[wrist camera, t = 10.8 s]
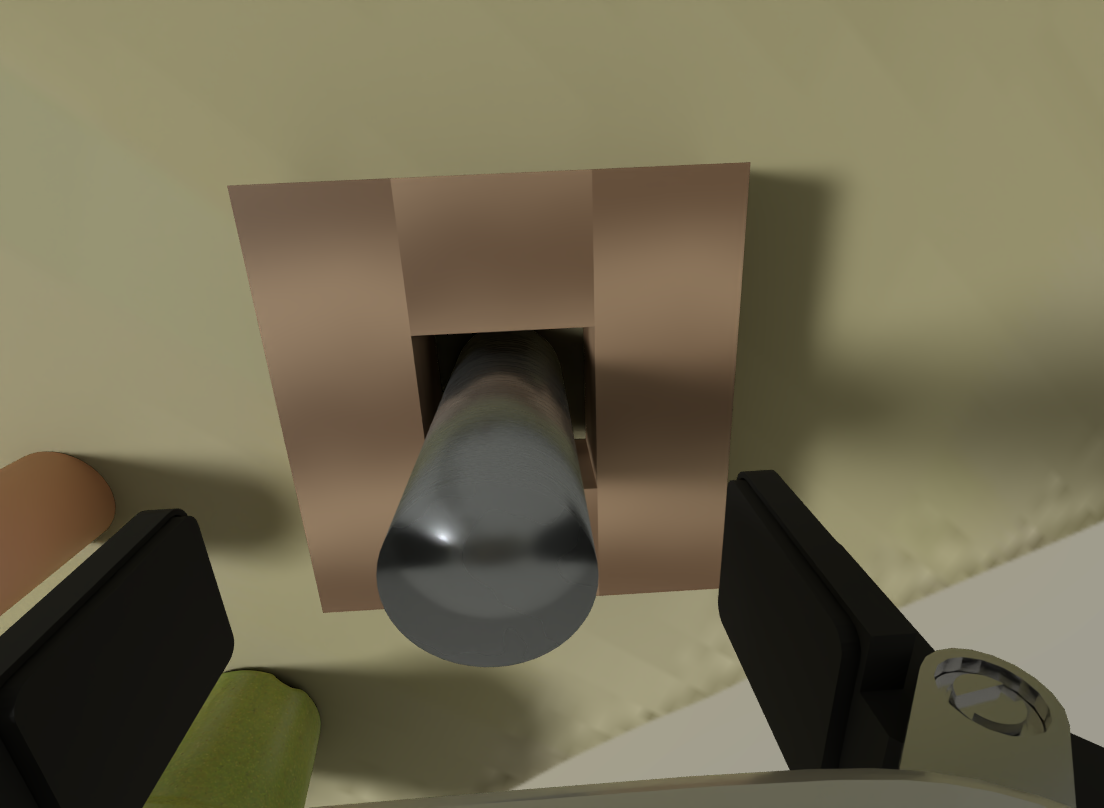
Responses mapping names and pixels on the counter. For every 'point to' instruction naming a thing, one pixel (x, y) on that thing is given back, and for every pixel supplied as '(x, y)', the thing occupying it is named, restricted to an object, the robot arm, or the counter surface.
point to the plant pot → (244, 748)
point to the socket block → (505, 305)
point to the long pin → (493, 514)
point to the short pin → (47, 518)
